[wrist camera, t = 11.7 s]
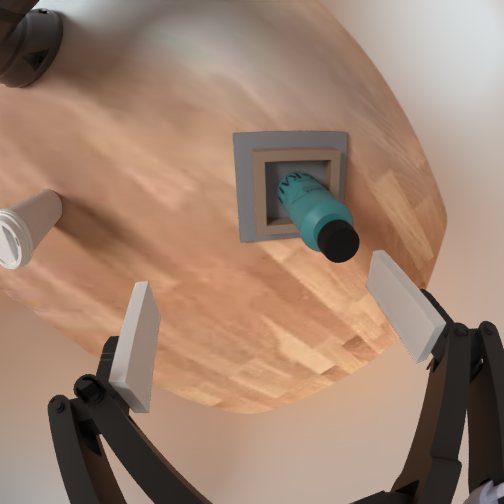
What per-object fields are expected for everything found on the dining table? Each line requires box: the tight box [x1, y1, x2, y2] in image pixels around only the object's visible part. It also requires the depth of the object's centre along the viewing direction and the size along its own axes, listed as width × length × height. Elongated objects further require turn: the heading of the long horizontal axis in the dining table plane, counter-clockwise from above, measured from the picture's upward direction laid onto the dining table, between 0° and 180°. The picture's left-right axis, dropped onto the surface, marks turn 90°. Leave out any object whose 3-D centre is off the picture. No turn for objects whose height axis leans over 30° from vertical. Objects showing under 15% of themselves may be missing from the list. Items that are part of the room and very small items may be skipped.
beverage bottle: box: [277, 171, 359, 263], centre depth 35 cm, size 6×7×20 cm
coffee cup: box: [0, 190, 63, 269], centre depth 33 cm, size 10×10×15 cm
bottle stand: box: [233, 131, 348, 243], centre depth 42 cm, size 18×18×4 cm
